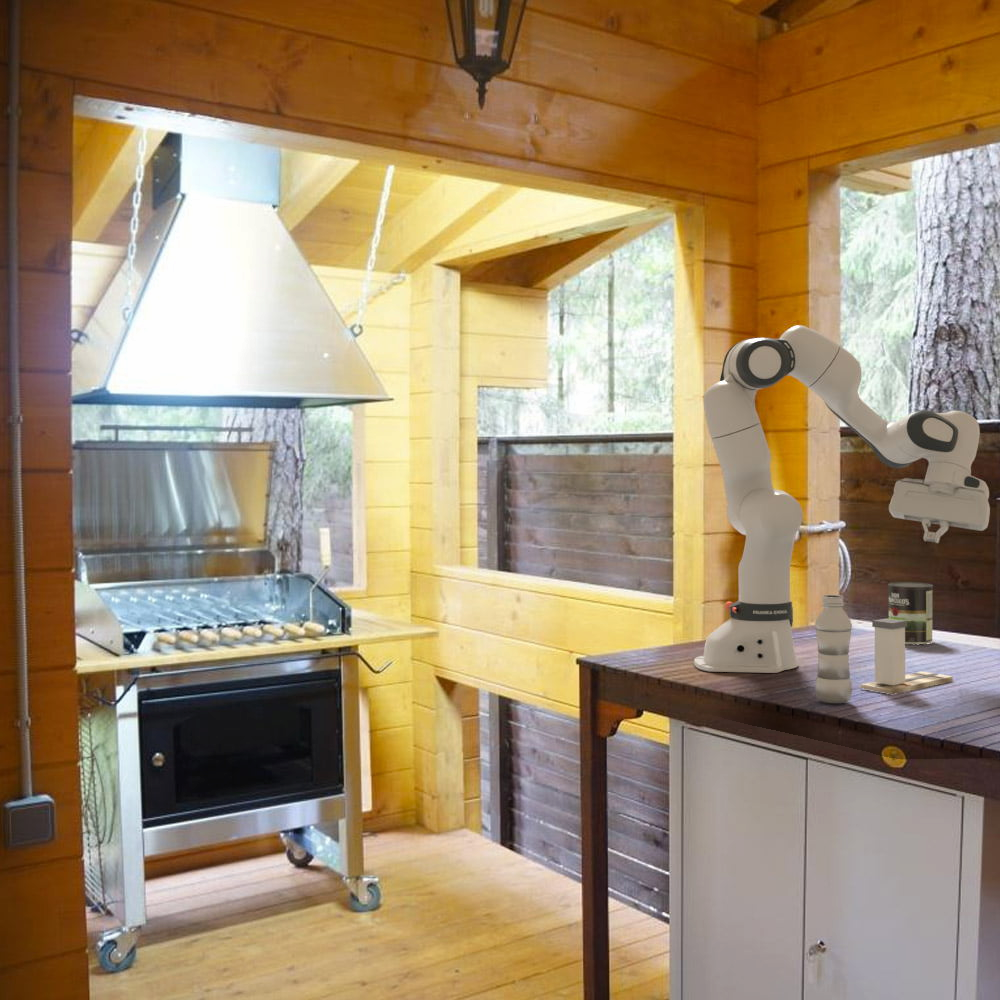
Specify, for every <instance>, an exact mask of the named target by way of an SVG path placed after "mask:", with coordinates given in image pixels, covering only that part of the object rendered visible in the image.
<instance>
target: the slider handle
mask: <svg viewBox="0 0 1000 1000" xmlns="http://www.w3.org/2000/svg"><path fill="white" fill-rule="evenodd" d="M871 623H872V627H874V682H876V683H881V684H887V685H897V684H902V683H905V675H906V645H905V627H907V621H905V620H897V619H889V617H888V618H880V619H875V620H873V619H872V622H871Z"/></svg>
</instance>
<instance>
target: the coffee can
mask: <svg viewBox="0 0 1000 1000" xmlns="http://www.w3.org/2000/svg"><path fill="white" fill-rule="evenodd" d="M887 587H888V618H889V619H897V620H905V621H907V627H905V644H927V643H931V642H932V641H933V588H934V585H933V584H931V583H926V582H913V581H898V582H896V581H895V582H889V583H887ZM931 644H932V643H931ZM927 645H928V644H927Z"/></svg>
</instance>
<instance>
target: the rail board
mask: <svg viewBox="0 0 1000 1000" xmlns="http://www.w3.org/2000/svg"><path fill="white" fill-rule="evenodd" d="M953 678H954V677H953V675H946V674H939V673H933V672H927V671H918V672H913V673H908V674H905V683H902V684H897V685H887V684H881V683H876V682H875V681H870V682H865V683H861V684H860V689H861V688H864V689H869V690H874V691H879V692H885V693H889V694H895V693H899V694H901V693H900V692H904V693H906V692H905V691H908V692H911V690H912V691H916V689H917V690H921V689H926V688H930V687H934V685H935V686H937V685H938V684H939V685H942V684H947V682H948V683H952V682H953V681H954V679H953ZM951 681H952V682H951ZM939 685H938V686H939ZM929 686H930V687H929ZM925 687H926V688H925ZM920 688H921V689H920ZM895 695H896V694H895Z"/></svg>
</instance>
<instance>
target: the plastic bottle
mask: <svg viewBox="0 0 1000 1000" xmlns="http://www.w3.org/2000/svg"><path fill="white" fill-rule="evenodd" d="M821 606H822V607H823V609H822V611H821V612H820V613H819V614H818V617H816V620H815V623H814V627H815V635H816V642H817V652H818V662H817V674H816V675H817V677H816V679H815V685H814V690H815V695H816V698H817V699H818V701H820V702H823V703H827V704H831V703H838V704H842V703H848V702H849V701H850V700H851V698H852V694H853V687H852V686H853V685H852V680H851V676H850V673H851V672H850V663H849V662H850V661H849V656H850V655H849V653H850V644H851V643H850V642H851V635H852V628H853V625H852V622H851V619H850V617H849V616H848V615H847V613H846V612H845V610H844V609H843V607H845V603H844V596H843V595H840V594H839V595H838V594H825V595H822V603H821Z"/></svg>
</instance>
